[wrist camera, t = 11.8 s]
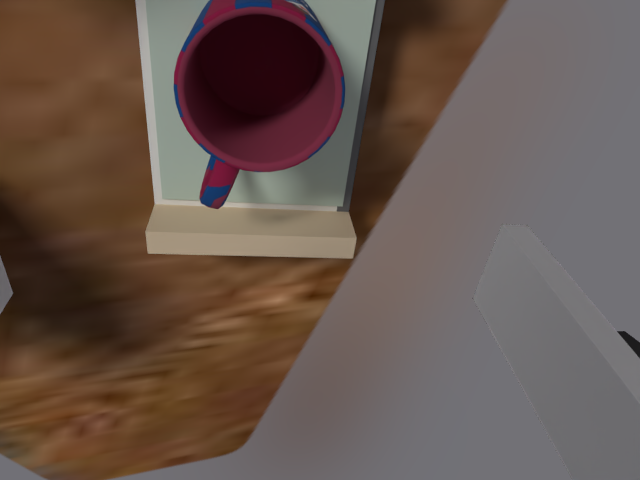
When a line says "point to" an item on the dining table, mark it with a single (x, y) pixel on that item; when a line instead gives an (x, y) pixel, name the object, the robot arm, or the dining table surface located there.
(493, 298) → the robot arm
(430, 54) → the dining table surface
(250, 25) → the mug
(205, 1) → the tray
